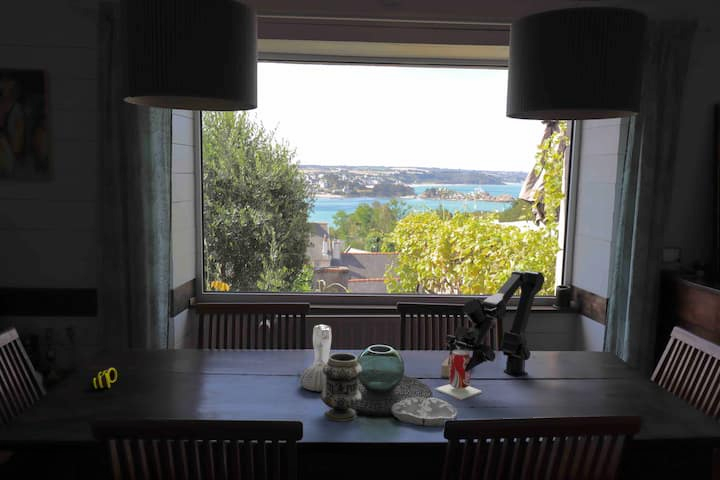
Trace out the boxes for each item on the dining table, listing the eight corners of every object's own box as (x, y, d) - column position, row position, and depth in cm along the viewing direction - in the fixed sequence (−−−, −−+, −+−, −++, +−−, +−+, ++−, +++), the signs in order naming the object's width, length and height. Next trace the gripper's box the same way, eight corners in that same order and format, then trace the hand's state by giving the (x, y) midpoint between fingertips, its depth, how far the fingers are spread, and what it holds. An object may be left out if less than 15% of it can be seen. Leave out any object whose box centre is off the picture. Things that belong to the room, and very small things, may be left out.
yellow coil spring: (102, 382, 198) (99, 368, 197) (118, 379, 198) (115, 365, 198) (94, 392, 188) (90, 378, 188) (110, 389, 189) (107, 374, 188)
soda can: (459, 391, 190) (460, 356, 189) (444, 385, 195) (445, 351, 194) (474, 387, 194) (475, 352, 193) (458, 381, 200) (460, 347, 198)
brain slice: (456, 408, 180) (457, 399, 180) (457, 431, 164) (457, 421, 163) (394, 403, 183) (394, 394, 183) (388, 425, 167) (388, 415, 166)
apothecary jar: (362, 423, 167) (364, 362, 165) (321, 423, 166) (322, 362, 164) (359, 407, 179) (360, 350, 177) (320, 407, 178) (321, 350, 176)
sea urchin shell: (309, 378, 204) (309, 356, 203) (345, 384, 200) (345, 361, 199) (293, 391, 192) (293, 367, 191) (330, 397, 187) (331, 373, 186)
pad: (456, 383, 202) (456, 381, 202) (481, 392, 194) (481, 390, 194) (435, 390, 195) (435, 388, 195) (460, 399, 187) (460, 398, 187)
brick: (462, 380, 207) (463, 367, 207) (440, 376, 210) (440, 364, 210) (471, 367, 223) (472, 355, 222) (450, 364, 226) (450, 352, 225)
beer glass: (334, 365, 219) (335, 326, 218) (323, 370, 213) (324, 330, 212) (319, 362, 223) (320, 324, 222) (308, 366, 217) (309, 327, 216)
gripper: (448, 312, 202) (425, 348, 196) (491, 322, 188) (468, 362, 182) (462, 330, 208) (440, 366, 202) (505, 342, 194) (483, 380, 188)
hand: (457, 368), depth 193 cm, fingers closed on soda can, 7 cm apart
